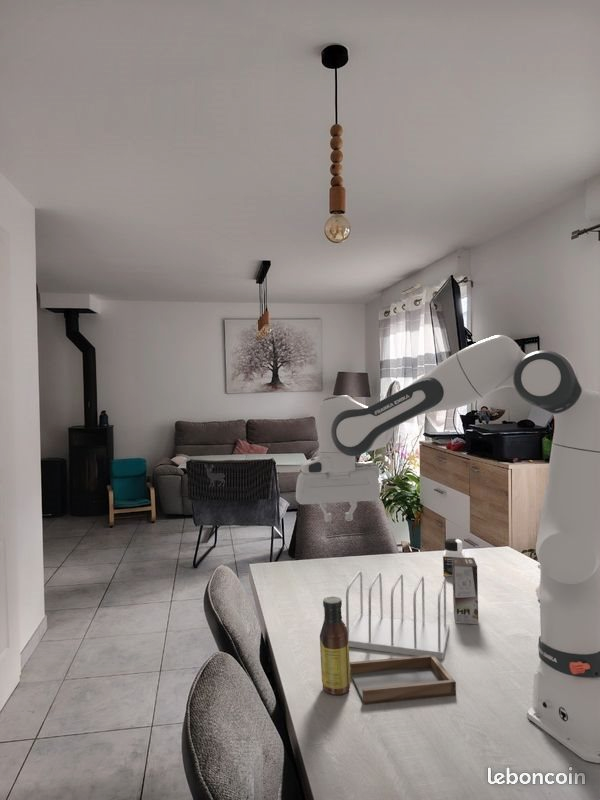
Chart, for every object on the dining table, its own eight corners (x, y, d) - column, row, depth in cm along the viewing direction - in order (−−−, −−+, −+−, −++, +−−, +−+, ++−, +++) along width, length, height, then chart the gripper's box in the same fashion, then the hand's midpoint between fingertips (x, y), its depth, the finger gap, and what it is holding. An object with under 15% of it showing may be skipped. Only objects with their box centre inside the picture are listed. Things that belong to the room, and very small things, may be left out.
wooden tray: (456, 695, 119) (455, 681, 119) (363, 704, 117) (363, 690, 117) (433, 666, 132) (433, 654, 132) (350, 674, 130) (349, 662, 130)
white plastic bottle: (443, 575, 199) (442, 541, 199) (444, 569, 206) (443, 536, 206) (464, 577, 197) (463, 542, 197) (464, 571, 203) (463, 537, 203)
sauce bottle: (333, 679, 128) (330, 591, 128) (356, 687, 124) (353, 597, 124) (315, 691, 123) (312, 600, 123) (338, 700, 119) (336, 606, 119)
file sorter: (343, 647, 144) (341, 586, 144) (358, 621, 161) (357, 566, 161) (443, 659, 136) (441, 595, 136) (449, 631, 152) (448, 573, 152)
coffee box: (479, 624, 156) (477, 566, 156) (455, 623, 157) (453, 565, 157) (475, 612, 165) (474, 557, 164) (453, 611, 166) (451, 556, 166)
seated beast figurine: (555, 609, 165) (554, 568, 165) (528, 601, 172) (527, 561, 172) (572, 601, 171) (570, 562, 171) (545, 594, 178) (544, 556, 178)
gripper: (375, 459, 140) (377, 515, 140) (293, 463, 137) (295, 520, 137) (382, 462, 134) (384, 520, 134) (297, 466, 131) (298, 526, 131)
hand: (338, 520), depth 136 cm, fingers open, 4 cm apart
